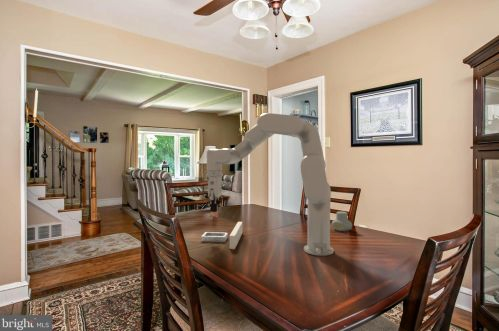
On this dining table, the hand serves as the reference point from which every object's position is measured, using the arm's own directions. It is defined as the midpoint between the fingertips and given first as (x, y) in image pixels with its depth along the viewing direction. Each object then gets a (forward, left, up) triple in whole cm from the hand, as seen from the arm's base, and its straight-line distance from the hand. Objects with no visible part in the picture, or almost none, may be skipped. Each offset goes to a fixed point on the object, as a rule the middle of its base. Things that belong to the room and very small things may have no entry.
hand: (214, 210), depth 135 cm
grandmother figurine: (0, 0, -3) cm, 3 cm away
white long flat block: (0, -11, -14) cm, 18 cm away
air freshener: (+24, -67, -15) cm, 73 cm away
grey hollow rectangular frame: (0, 0, -14) cm, 14 cm away
